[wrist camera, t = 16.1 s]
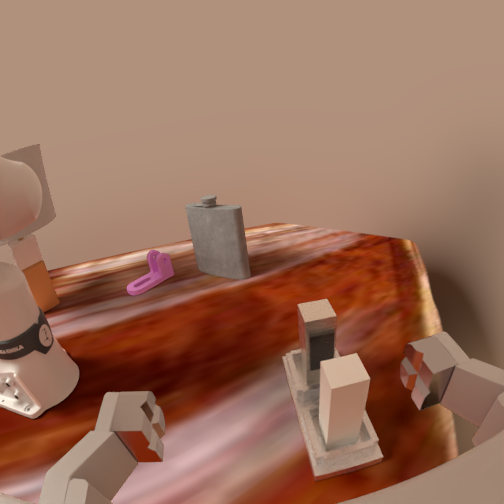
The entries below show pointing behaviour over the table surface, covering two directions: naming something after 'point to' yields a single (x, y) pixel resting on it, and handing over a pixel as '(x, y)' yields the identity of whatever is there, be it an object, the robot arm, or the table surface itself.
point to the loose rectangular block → (342, 399)
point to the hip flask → (219, 238)
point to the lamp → (25, 242)
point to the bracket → (152, 273)
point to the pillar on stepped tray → (308, 395)
